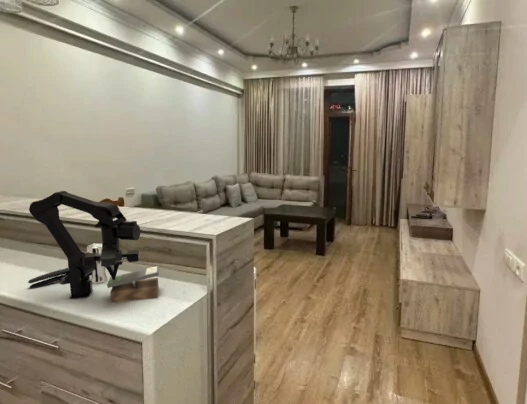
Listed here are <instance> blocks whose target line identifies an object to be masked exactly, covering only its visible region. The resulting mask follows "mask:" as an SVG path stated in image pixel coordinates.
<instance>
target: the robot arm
mask: <svg viewBox="0 0 527 404" xmlns="http://www.w3.org/2000/svg"><path fill="white" fill-rule="evenodd" d="M62 205H63V206H66V207H68V208H71V209H75V210H76V211H77V210H78V211H81V212H84V213H86V214H89V215H91V216H92V218H93V219H95V220H97V221H98V222H97V223H96V224H95V225H94V228H100V233H101V243H102V251H101V255H99V256H98V254H97V253H89V252H88V253H87V252H86V253H85V252H83V251H82V250H81V249H80V248H79V246H78V245H77V242H75V240H74V238H73V237H72V235H71V234H70V232H69V231H68V229H67V228H66V226H65V224H64V223H63V222H62V220H61V219H60V210H59V207H60V206H62ZM28 211H29V214H30V215H31V216H32V217H33V218H34V219H35V220H36V221H38V222H39V223H41V224H43V225H44V226H45V227H46V228H47V229H48V231H49V232H50V234H51V236H52V237H53V239H54V240H55V242H56V243H57V245H58V246H59V248H60V249H61V251H62V252H63V254H64V255H65V257H66V258H67V268H69V270H70V273H69V274H68V275H67V276H66V277H65V281H66V283H67V284H69V288H70V296H69V299H83V298H89V297H90V295H91V294H92V293H93V290H94V289H93V283H92V281H91V276H92V273H93V271H94V270H95V266H96V264H95V261H101V266H104V267H105V270H107V271H108V274H109V276H110V277H112V279H113V280H115V278H116V276H117V273H118V270H119V267H120V266H121V265H123V263H124V260H126V261H127V262H128V263H135V262H136V263H137V262H140V261H139V260H140V258H141V251H140V250H139V249H132V250H131V249H129V250H128V251H127V253H126V252H125V253H123V251H122V249H121V245H120V240H122V241H138V240H139V239H140V236H141V228H140V225H139V224H138V221H137V220H131V221H130V220H128V221H127V218H126V216H124V214H123V213H122V212H121V210H120V208H119V206H118V205H117V204H116V203H113V202H107V201H105V202H104V201H94V200H91V199H88V198H86V197H82V196H80V195H79V196H78V195H76V194H72V193H71V192H70V193H69V192H68V191H67V190H61V191H56V192H54V193H52V194H50V196H47V197H45V198H43V199H38V200H35V201H33V202H31V203H30V205H29V209H28Z"/></svg>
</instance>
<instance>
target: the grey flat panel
mask: <svg viewBox="0 0 527 404" xmlns="http://www.w3.org/2000/svg"><path fill="white" fill-rule="evenodd" d="M159 275H160V265H157V266H153V267H148V268H147V267H146V268H143V269H139V270H135V271H131V272H130V271H129V272H127V273H123V274H118V275H116V278H115V280H113V279H112V277H111V276H110V278H109V280H108V281H107V284H106V286H107V289H109V288H110V289H111V288H112V287H114V286H119V285H123V284H127V283H131V282H132V283H133V284H135V282H136V281H139V280H143V279H150V278H156V277H158V276H159Z"/></svg>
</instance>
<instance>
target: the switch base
mask: <svg viewBox="0 0 527 404" xmlns="http://www.w3.org/2000/svg"><path fill="white" fill-rule="evenodd" d="M110 289H111V290H110V303H118V302H121V303H122V302H128V301H136V300H138V301H139V300H148V299H157V298H158V297H159V277H151V278H147V279H143V280H139V281H136V282H135V284H133V283H132V282H131V283H127V284H123V285H119V286H114V287H111V288H110Z"/></svg>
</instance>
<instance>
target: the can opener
mask: <svg viewBox="0 0 527 404" xmlns="http://www.w3.org/2000/svg"><path fill="white" fill-rule="evenodd" d="M69 273H70V270H69V268H68V267H65V268H59V269H58V270H53V271H51V272H47V273H45V274H42V275H39V276H36V277H34V278H30V279H29V280H28V281H27V284H31V285H29V288H30V289H37V288H40V287H43V286H46V285H49V284H52V283H56V282H59V281H60V282H61V284H68V283H66V281H65V277H66V276H67V275H68V274H69Z"/></svg>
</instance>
